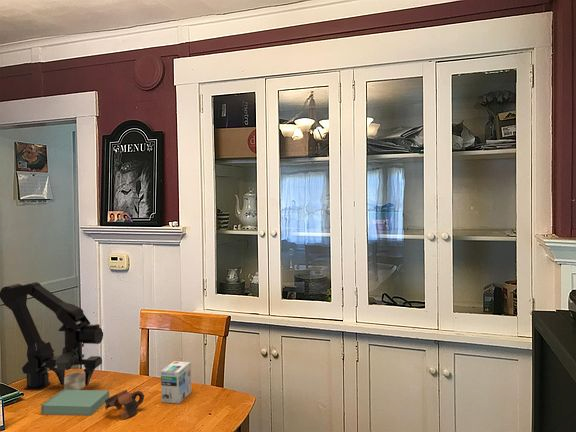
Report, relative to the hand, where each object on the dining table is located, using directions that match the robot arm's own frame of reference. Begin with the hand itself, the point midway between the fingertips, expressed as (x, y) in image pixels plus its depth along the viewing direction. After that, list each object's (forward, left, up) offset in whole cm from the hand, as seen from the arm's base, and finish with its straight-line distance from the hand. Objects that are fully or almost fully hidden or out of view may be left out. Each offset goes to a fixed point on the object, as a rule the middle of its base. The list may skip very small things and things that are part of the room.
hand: (74, 385), depth 179 cm
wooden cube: (0, 0, -1) cm, 1 cm away
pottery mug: (+27, -19, -1) cm, 33 cm away
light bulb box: (+40, -6, -1) cm, 40 cm away
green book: (+9, -15, -1) cm, 18 cm away
